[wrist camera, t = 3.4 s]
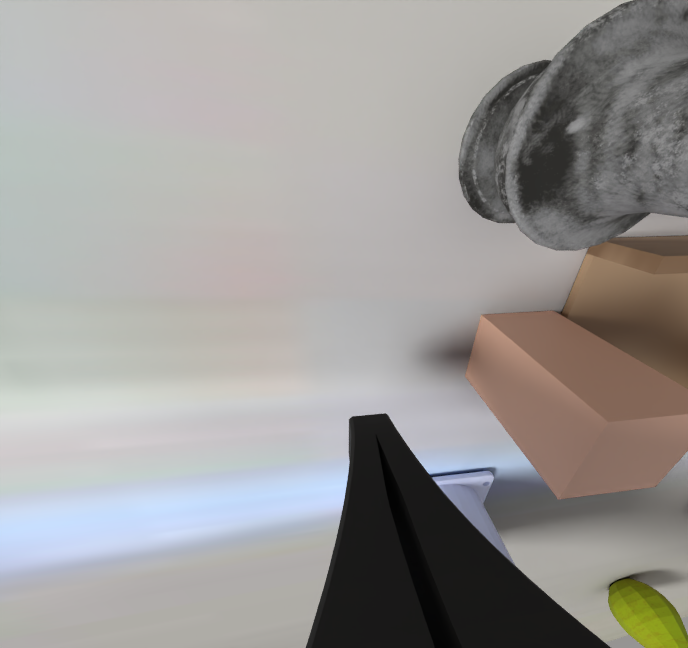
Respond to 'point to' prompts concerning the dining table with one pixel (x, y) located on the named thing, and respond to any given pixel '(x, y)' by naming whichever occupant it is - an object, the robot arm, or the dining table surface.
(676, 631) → the fruit
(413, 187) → the dining table surface
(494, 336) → the tall block
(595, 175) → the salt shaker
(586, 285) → the walnut tray
